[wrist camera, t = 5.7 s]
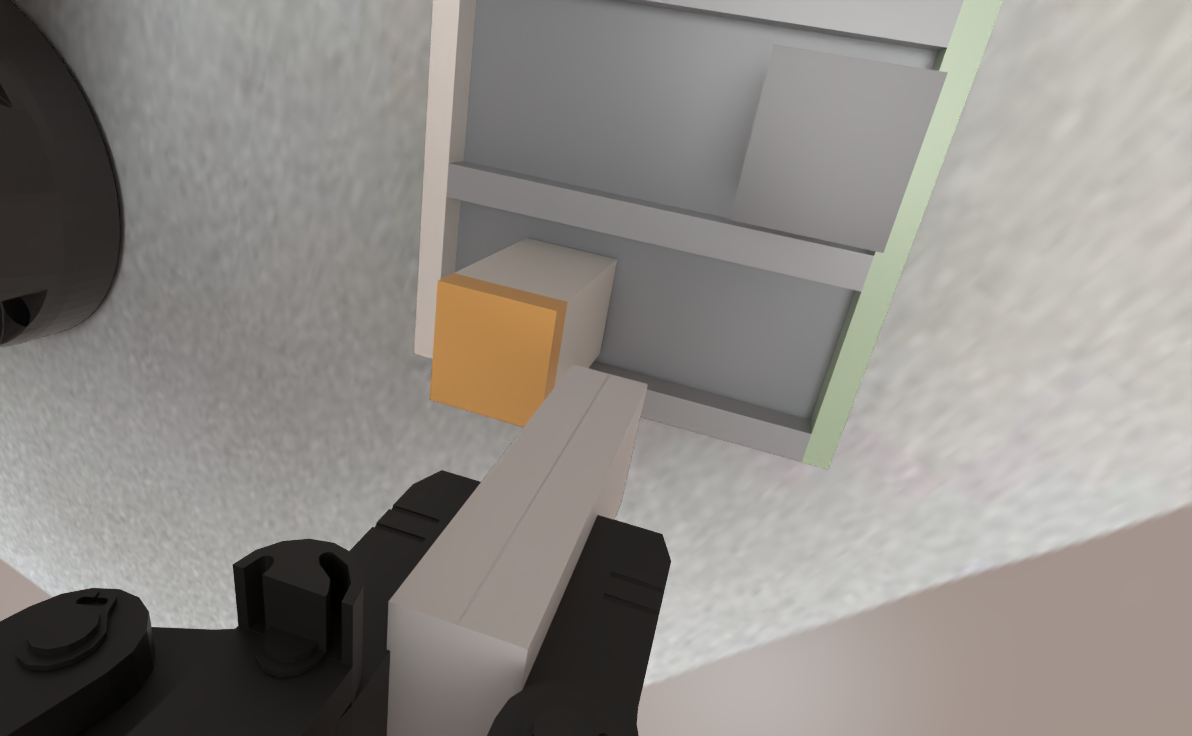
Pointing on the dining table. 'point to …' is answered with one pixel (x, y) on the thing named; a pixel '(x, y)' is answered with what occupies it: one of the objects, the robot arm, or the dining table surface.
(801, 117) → the toggle mid
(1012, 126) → the dining table surface
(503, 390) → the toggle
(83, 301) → the robot arm
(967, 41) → the breaker board
